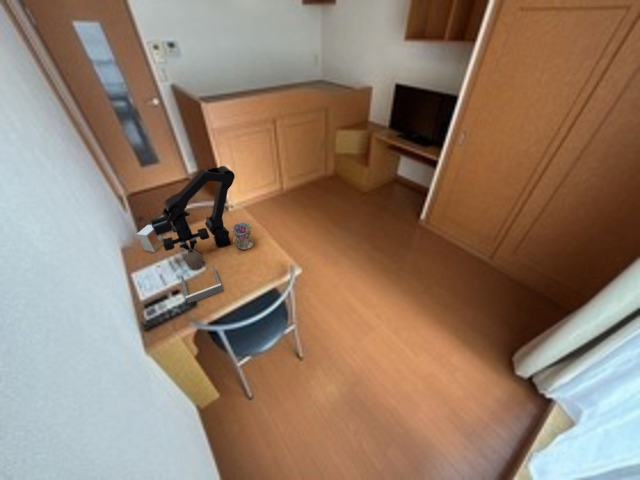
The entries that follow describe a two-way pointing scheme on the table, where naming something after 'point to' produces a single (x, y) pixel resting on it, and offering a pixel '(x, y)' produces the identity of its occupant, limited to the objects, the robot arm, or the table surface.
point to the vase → (193, 259)
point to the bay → (204, 292)
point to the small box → (150, 239)
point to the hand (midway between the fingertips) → (192, 252)
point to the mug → (243, 235)
